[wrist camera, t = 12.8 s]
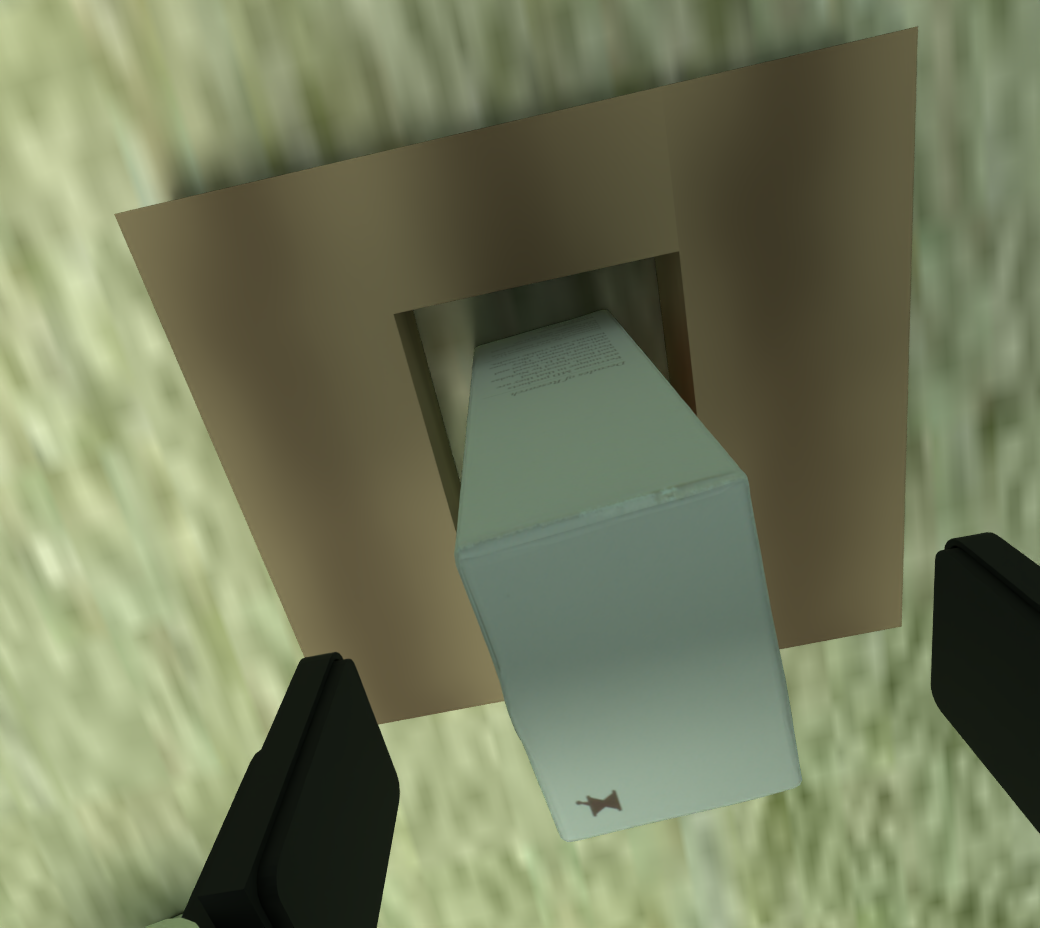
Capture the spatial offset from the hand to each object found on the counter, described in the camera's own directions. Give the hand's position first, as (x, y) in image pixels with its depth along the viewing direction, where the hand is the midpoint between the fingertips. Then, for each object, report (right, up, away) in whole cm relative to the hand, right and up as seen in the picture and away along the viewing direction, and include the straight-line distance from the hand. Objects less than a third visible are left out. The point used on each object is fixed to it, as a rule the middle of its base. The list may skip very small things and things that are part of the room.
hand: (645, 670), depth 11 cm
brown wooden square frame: (-1, +5, +10) cm, 11 cm away
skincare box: (-1, +5, +10) cm, 11 cm away
